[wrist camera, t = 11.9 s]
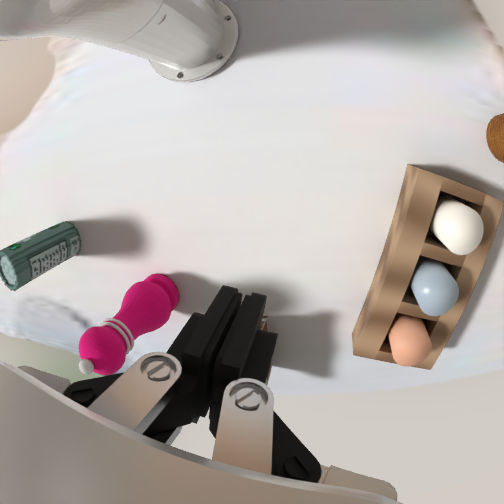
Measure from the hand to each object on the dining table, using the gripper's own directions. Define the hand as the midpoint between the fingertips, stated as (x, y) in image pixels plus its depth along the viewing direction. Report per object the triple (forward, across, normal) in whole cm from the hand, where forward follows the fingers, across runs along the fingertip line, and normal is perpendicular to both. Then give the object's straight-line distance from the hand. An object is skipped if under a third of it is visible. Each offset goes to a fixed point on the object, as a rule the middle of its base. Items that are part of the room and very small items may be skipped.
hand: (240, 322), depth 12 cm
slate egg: (+25, -18, +6) cm, 32 cm away
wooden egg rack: (+27, -18, +6) cm, 33 cm away
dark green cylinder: (+28, +37, +15) cm, 49 cm away
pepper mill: (+28, +17, +19) cm, 38 cm away
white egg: (+26, -18, -1) cm, 31 cm away
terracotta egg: (+25, -18, +14) cm, 34 cm away
